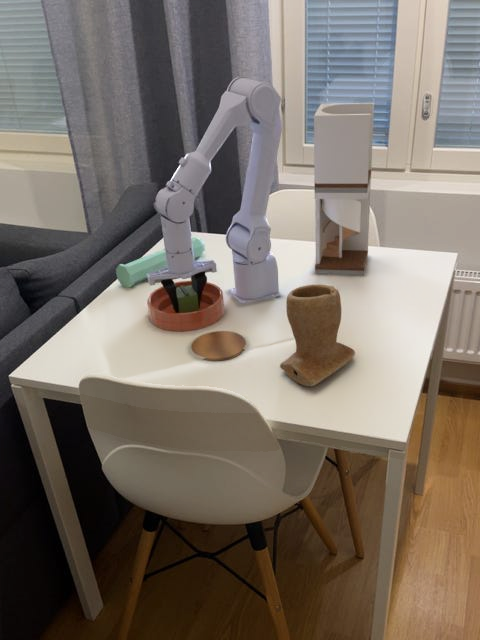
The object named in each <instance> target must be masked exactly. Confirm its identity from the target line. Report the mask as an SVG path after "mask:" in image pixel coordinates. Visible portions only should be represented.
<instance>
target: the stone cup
mask: <svg viewBox="0 0 480 640" xmlns="http://www.w3.org/2000/svg"><path fill="white" fill-rule="evenodd" d="M285 303H286V309H285V310H286V317H287V320H288V322H289V325H290V329H291V332H292V335H293V337H294V341H295V352H294V353H292V354H291V355H290V356H289V357H288V358H286V359H285V360H284V361H282V362H281V363H280V364H279V367H280V368H281V370H282V371H283V372H285V374H286V375H287V376H288V377H289V378H290V379H291V380H293V381H294V382H296V383H298V384H300V385H302V386H305V387H313V386H316V385H318V384H319V383H321V382H322V381H323V380H325V379H327V378H328V377H329V376H331V375H333V374H334V373H335V372H337V371H338V370H340V369H341V368H342V367H344V366H345V365H346V364H348V362H349V361H351V360H352V359H353V358H354V356H355V355H356V351H355V350H354V349H353V348H351V347H350V346H348V345H345V344H344V343H341V342H338V341H337V339H338V333H339V328H340V326H341V321H342V300H341V295H340V291H339V290H338V289H337V288H336V287H334V286H332V285H326V284H307V285H301V286H298V287H296V288H294V289H292V290H291V291H290V292H288V294H287V297H286V302H285Z"/></svg>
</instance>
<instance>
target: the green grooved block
mask: <svg viewBox="0 0 480 640" xmlns="http://www.w3.org/2000/svg"><path fill="white" fill-rule="evenodd" d="M176 294H177V302H178V309H179V312H177V313H189V312H195V311H199V304H198V295H197V293H196V292H195V290H194V289H193V287H192V286H191V285H189V286H183V285H182V286H180V287H179V288H176Z"/></svg>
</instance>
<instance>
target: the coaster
mask: <svg viewBox="0 0 480 640" xmlns="http://www.w3.org/2000/svg"><path fill="white" fill-rule="evenodd" d="M190 345H191V347H190V348H191V351H192V352H193V353H194V354H195V355H196V356H199V357H201V358H202V360H204V361H210V362H222V361H227V360H230V359H233V358H237V357H238V356H239V355H241V354H242V353H244V352H245V349H246V345H247V341H246V339H245V338H244V336H243V335H241V334H239V333H238V332H234V331H228V330H217V331H211V332H206V333H203V334H201V335H199V336H197V337H196V338H195V339H194V340H193V341H192V343H191V344H190Z"/></svg>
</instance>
